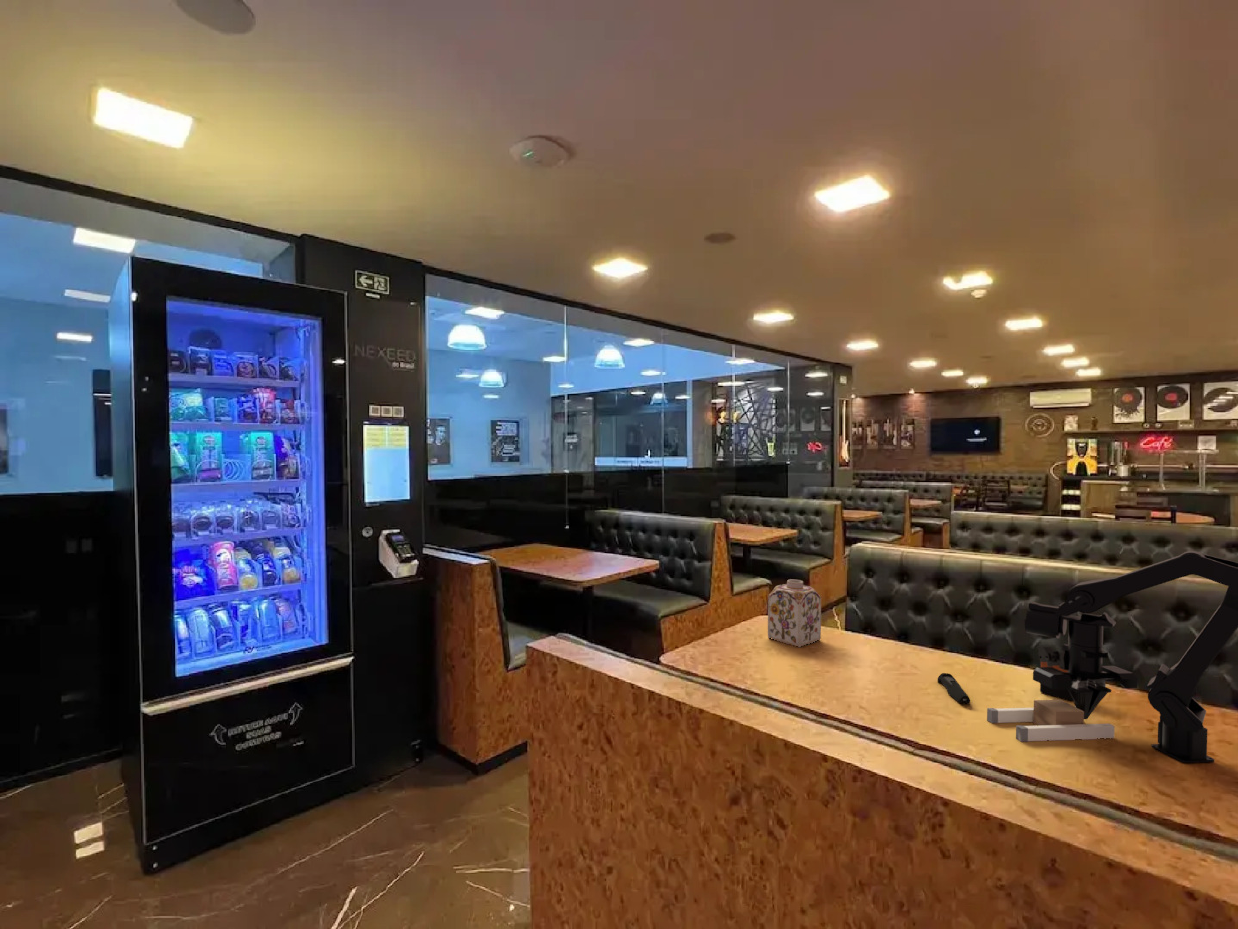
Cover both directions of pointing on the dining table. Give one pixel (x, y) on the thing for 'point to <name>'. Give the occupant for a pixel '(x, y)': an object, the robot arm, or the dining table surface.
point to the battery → (1057, 693)
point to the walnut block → (1056, 713)
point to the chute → (1047, 727)
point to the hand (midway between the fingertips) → (1083, 718)
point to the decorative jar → (794, 614)
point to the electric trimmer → (953, 688)
